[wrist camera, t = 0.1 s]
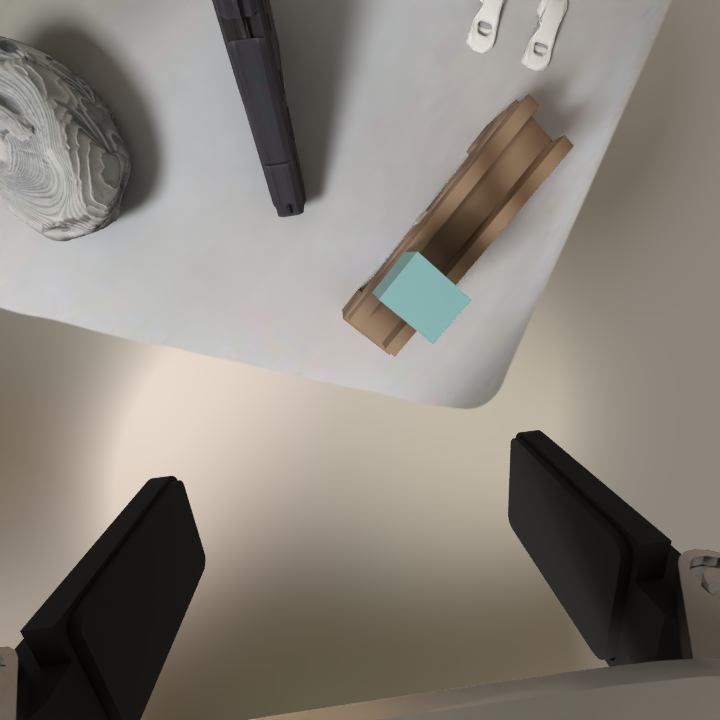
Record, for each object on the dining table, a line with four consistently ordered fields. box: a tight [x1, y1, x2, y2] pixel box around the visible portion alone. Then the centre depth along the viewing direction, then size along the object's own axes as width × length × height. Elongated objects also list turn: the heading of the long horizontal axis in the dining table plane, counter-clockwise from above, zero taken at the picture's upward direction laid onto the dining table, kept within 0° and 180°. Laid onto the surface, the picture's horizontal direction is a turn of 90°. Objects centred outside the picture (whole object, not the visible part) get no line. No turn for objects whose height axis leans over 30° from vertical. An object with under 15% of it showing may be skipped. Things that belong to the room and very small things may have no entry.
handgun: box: [212, 0, 306, 217], centre depth 30 cm, size 4×16×12 cm
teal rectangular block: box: [372, 251, 471, 344], centre depth 29 cm, size 4×6×8 cm
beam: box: [342, 94, 573, 356], centre depth 33 cm, size 24×6×8 cm, turn 141°
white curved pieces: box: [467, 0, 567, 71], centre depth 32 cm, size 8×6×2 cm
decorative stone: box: [0, 37, 131, 241], centre depth 29 cm, size 15×14×10 cm
